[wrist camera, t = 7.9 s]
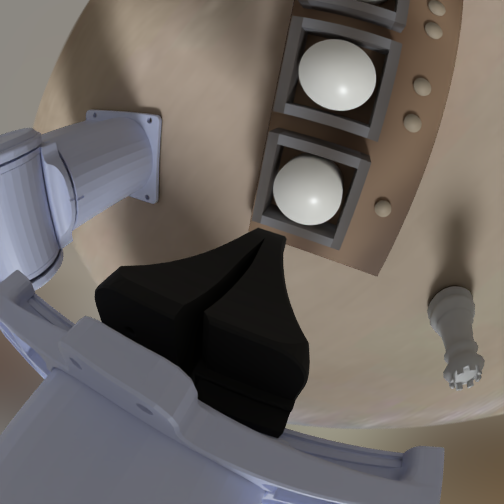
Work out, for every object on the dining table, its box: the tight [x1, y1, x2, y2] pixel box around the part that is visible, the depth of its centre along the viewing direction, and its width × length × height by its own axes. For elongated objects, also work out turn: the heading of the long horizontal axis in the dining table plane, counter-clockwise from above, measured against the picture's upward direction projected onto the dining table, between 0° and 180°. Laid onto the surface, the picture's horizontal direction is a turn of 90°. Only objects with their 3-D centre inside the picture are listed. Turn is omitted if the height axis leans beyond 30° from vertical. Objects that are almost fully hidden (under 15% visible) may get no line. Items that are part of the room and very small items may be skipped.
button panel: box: [249, 0, 463, 276], centre depth 13 cm, size 10×24×4 cm, turn 170°
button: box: [273, 153, 344, 225], centre depth 16 cm, size 4×4×2 cm
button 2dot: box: [299, 39, 376, 111], centre depth 12 cm, size 4×4×2 cm
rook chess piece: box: [427, 286, 484, 390], centre depth 16 cm, size 4×4×8 cm
